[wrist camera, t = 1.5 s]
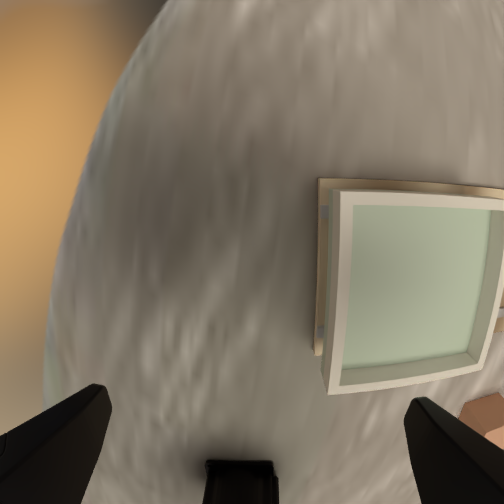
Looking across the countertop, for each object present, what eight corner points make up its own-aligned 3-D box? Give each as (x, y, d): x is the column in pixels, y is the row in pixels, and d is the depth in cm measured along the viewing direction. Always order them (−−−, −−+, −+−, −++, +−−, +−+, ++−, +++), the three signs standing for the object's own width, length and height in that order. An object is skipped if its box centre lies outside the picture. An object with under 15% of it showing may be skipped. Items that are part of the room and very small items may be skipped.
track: (313, 349, 22) (315, 357, 21) (317, 178, 19) (321, 178, 18) (520, 322, 21) (526, 327, 20) (539, 194, 19) (547, 196, 18)
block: (449, 436, 25) (467, 466, 20) (464, 402, 24) (486, 432, 19) (482, 425, 25) (501, 452, 20) (498, 392, 24) (520, 418, 19)
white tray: (315, 352, 21) (327, 395, 16) (321, 186, 18) (340, 191, 14) (450, 338, 21) (481, 369, 16) (470, 193, 18) (514, 201, 13)
